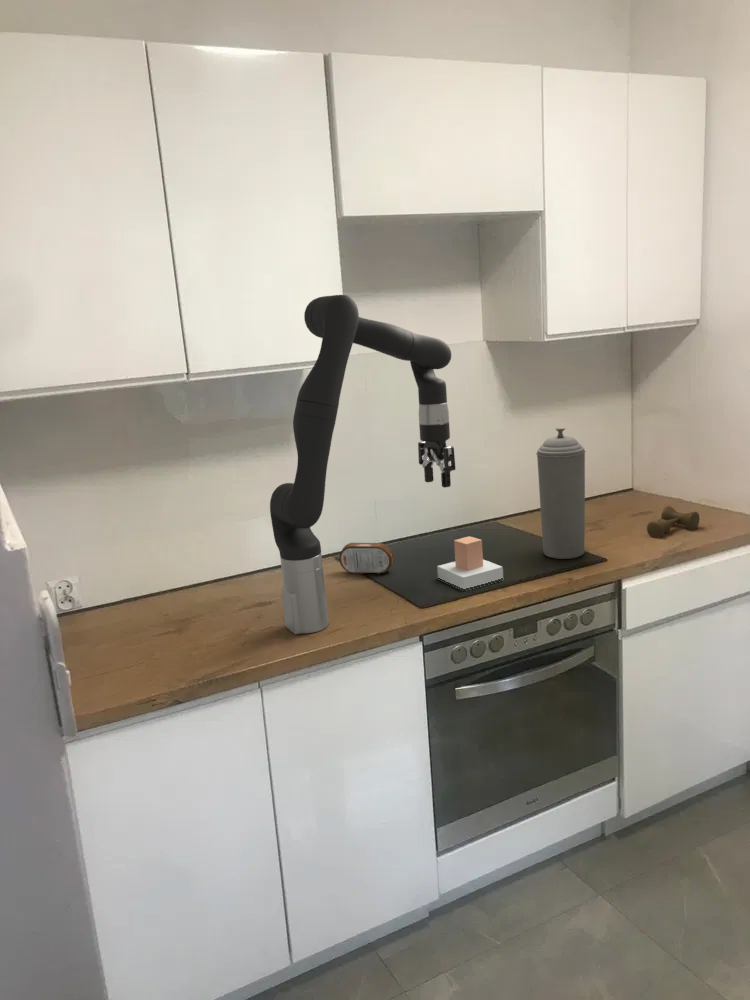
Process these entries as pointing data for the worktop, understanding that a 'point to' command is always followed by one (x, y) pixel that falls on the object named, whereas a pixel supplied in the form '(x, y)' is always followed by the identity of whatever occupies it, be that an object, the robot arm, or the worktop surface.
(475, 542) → the terracotta block
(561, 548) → the canister
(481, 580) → the white block
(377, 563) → the tin
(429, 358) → the robot arm
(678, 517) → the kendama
